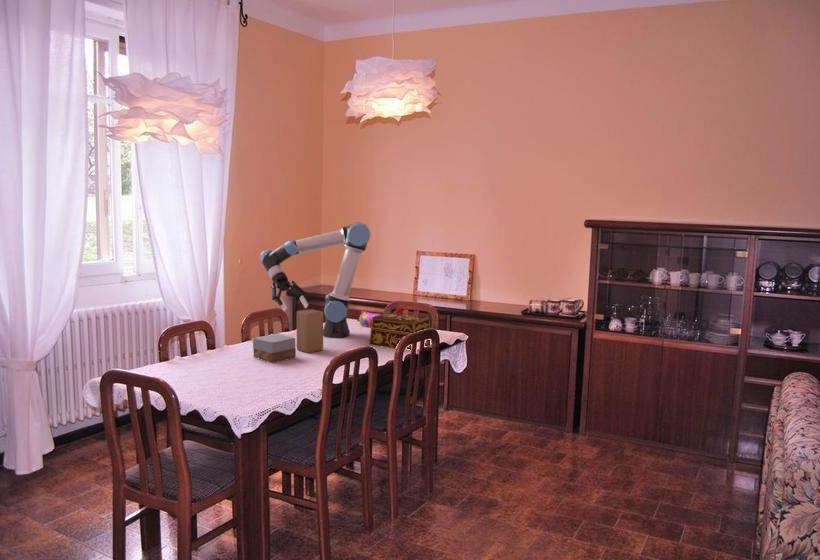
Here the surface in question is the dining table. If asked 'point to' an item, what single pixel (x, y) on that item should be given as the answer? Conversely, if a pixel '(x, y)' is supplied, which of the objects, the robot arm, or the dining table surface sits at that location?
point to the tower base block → (275, 355)
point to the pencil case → (366, 318)
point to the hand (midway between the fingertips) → (296, 308)
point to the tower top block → (273, 343)
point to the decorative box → (395, 328)
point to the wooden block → (309, 330)
